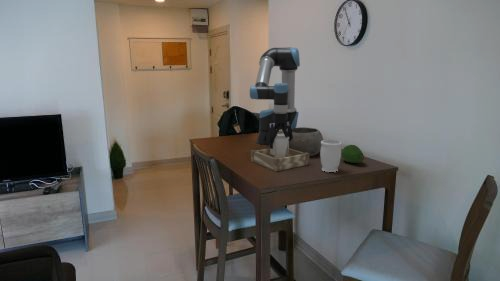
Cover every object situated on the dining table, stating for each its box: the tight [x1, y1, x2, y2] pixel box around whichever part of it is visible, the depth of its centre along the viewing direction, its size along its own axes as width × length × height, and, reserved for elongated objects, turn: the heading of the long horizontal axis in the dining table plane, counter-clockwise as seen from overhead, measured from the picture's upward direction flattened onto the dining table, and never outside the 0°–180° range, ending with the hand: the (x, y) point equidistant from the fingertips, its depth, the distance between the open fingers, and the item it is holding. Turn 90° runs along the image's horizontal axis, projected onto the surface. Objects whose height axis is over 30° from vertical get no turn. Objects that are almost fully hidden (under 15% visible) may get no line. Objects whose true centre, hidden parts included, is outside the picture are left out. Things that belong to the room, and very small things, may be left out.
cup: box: [273, 135, 289, 158], centre depth 188 cm, size 10×10×11 cm
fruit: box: [341, 144, 365, 164], centre depth 190 cm, size 15×10×10 cm, turn 15°
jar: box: [319, 139, 343, 173], centre depth 175 cm, size 11×10×15 cm
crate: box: [250, 147, 310, 172], centre depth 189 cm, size 23×23×6 cm
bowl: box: [289, 127, 324, 158], centre depth 210 cm, size 23×23×15 cm
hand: (279, 153), depth 189 cm, fingers closed on cup, 9 cm apart
